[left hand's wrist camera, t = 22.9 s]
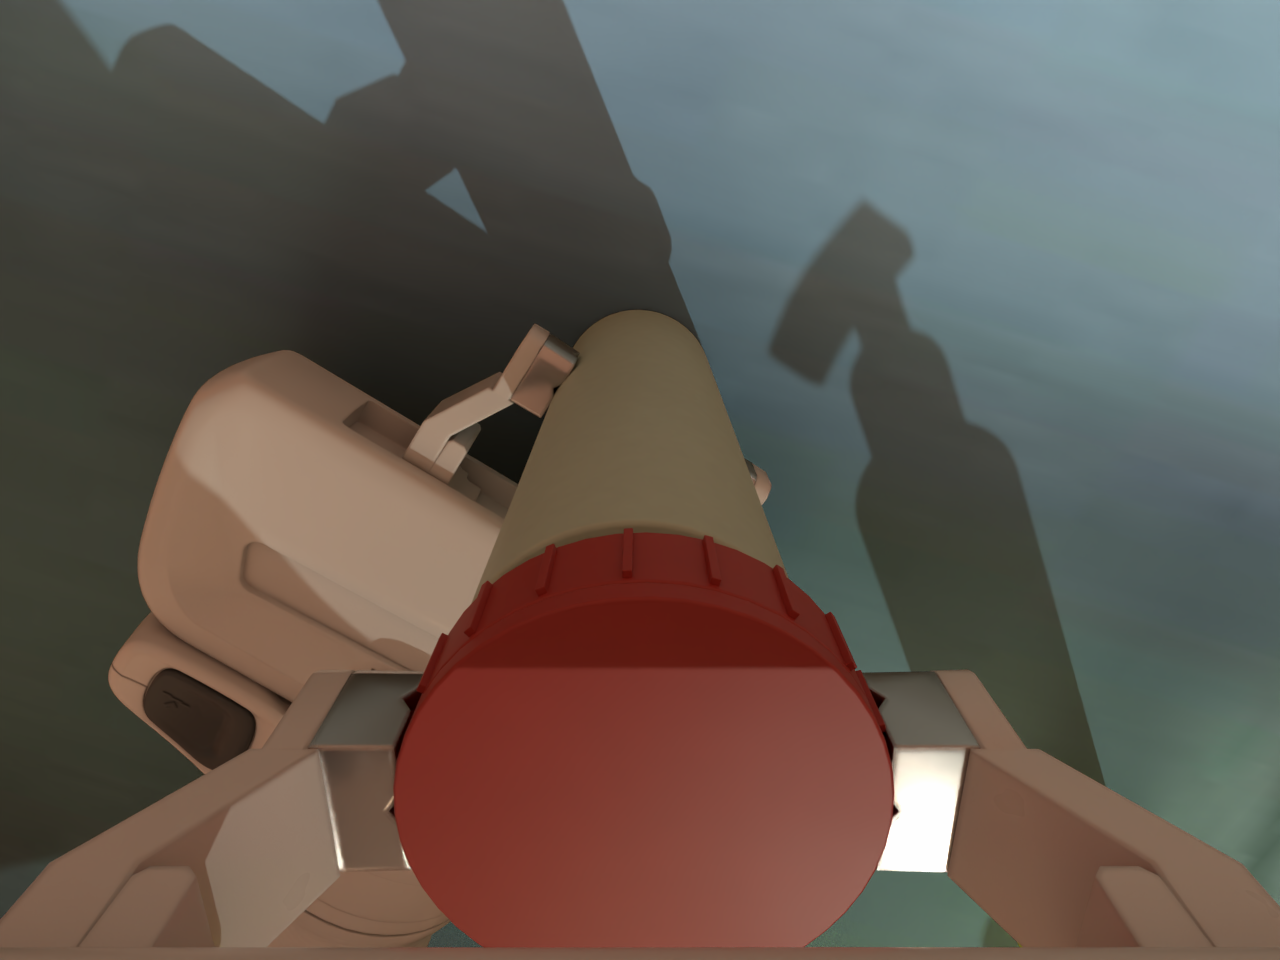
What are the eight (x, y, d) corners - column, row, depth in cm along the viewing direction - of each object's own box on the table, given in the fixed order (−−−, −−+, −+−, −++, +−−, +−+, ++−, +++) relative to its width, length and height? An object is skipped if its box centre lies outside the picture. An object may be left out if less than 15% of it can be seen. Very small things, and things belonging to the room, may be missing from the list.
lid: (696, 431, 9) (707, 482, 7) (945, 761, 11) (995, 858, 9) (330, 686, 10) (277, 774, 9) (605, 947, 12) (599, 1060, 10)
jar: (684, 468, 28) (757, 938, 11) (548, 430, 28) (394, 857, 10) (730, 334, 26) (904, 634, 9) (586, 290, 26) (478, 519, 9)
